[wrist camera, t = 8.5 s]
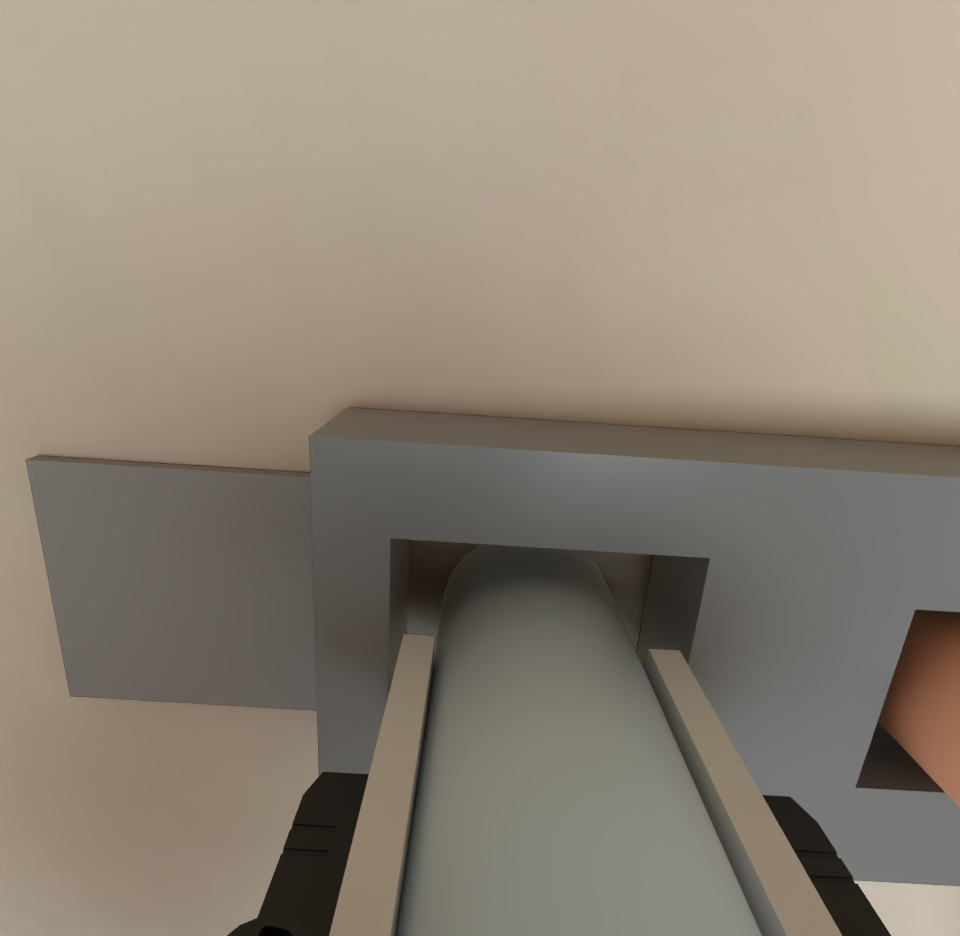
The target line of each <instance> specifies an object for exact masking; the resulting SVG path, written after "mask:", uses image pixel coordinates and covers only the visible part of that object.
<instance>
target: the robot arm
mask: <svg viewBox="0 0 960 936" xmlns="http://www.w3.org/2000/svg"><path fill="white" fill-rule="evenodd" d="M434 648H435V636H428V635H412V634H404V635H403V639H402V643H401V647H400V651H399V655H398V659H397V663H396V667H395V671H394V675H393V679H392V683H391V687H390V691H389V695H388V699H387V703H386V707H385V711H384V716H383V720H382V724H381V728H380V732H379V736H378V740H377V744H376V748H375V752H374V756H373V760H372V764H371V768H370V772H369V774H356V773H338V772H322V774H321V775H320V776H319V777H318V778H317V779H316V781H315V782H314V783H313V784H312V785H311V787H310V788H309V789H308V790H307V791H306V792H305V794H304V795H303V797H302V800H301V802H300V805H299V808H298V810H297V813H296V816H295V818H294V821H293V825H292V829H290V832H289V835H288V837H287V840H286V843H285V845H284V849H283V853H282V854H281V856H280V859H279V861H278V864H277V867H276V870H275V872H274V875H273V878H272V880H271V883H270V886H269V888H268V891H267V894H266V896H265V899H264V902H263V905H262V907H261V910H260V913H259V915H258V918H256V919H254V920H251V921H249V922H246V923H244V924H242V925H240V926H238V927H237V928H236V929H235V930H234V931H232V932H231V933H230V934H229V935H227V936H396V932H397V925H398V918H399V911H400V904H401V897H402V889H403V882H404V875H405V868H406V861H407V854H408V847H409V840H410V833H411V826H412V818H413V811H414V804H415V797H416V790H417V783H418V776H419V769H420V762H421V755H422V747H423V740H424V733H425V726H426V719H427V712H428V705H429V698H430V691H431V684H432V676H433V669H434ZM645 672H646V675H647V677H648V679H649V681H650V684H651V686H652V688H653V690H654V693H655V695H656V697H657V699H658V702H659V704H660V706H661V708H662V711H663V713H664V715H665V717H666V720H667V722H668V724H669V727H670V729H671V731H672V733H673V736H674V738H675V740H676V742H677V745H678V747H679V749H680V751H681V754H682V756H683V758H684V760H685V763H686V765H687V767H688V770H689V772H690V774H691V776H692V779H693V781H694V783H695V785H696V788H697V790H698V792H699V794H700V797H701V799H702V801H703V803H704V806H705V808H706V810H707V812H708V815H709V817H710V819H711V822H712V824H713V826H714V828H715V831H716V833H717V835H718V837H719V840H720V842H721V844H722V846H723V849H724V851H725V853H726V855H727V858H728V860H729V862H730V864H731V867H732V869H733V871H734V874H735V876H736V878H737V880H738V883H739V885H740V887H741V889H742V892H743V894H744V896H745V898H746V901H747V903H748V905H749V907H750V910H751V912H752V914H753V917H754V919H755V921H756V923H757V926H758V928H759V930H760V932H761V935H762V936H891V935H890V933H889V932H888V930H887V929H886V927H885V926H884V924H883V923H882V921H881V919H880V918H879V916H878V915H877V913H876V912H875V910H874V909H873V907H872V906H871V904H870V902H869V901H868V899H867V898H866V896H865V895H864V893H863V892H862V890H861V889H860V887H859V886H858V884H855V883H854V881H853V876H852V875H851V873H850V872H849V870H848V869H847V867H846V865H845V864H844V862H843V861H842V859H841V858H838V856H837V852H836V850H835V848H834V847H833V845H832V844H831V842H830V841H829V839H828V838H827V836H826V835H825V833H824V831H823V830H822V828H821V827H820V825H819V824H818V822H817V821H816V820H815V819H814V818H812V817H811V816H810V815H809V814H808V813H807V812H806V811H805V810H804V809H803V808H802V807H801V806H800V805H799V804H798V803H797V802H796V801H795V800H794V799H792V798H791V797H790V796H772V795H762V794H761V792H760V791H759V789H758V787H757V785H756V784H755V782H754V780H753V778H752V776H751V775H750V773H749V771H748V769H747V768H746V766H745V764H744V762H743V761H742V759H741V757H740V755H739V754H738V752H737V750H736V748H735V747H734V745H733V743H732V741H731V740H730V738H729V736H728V734H727V733H726V731H725V729H724V727H723V726H722V724H721V722H720V720H719V719H718V717H717V715H716V713H715V712H714V710H713V708H712V706H711V705H710V703H709V701H708V699H707V698H706V696H705V694H704V692H703V691H702V689H701V687H700V685H699V684H698V682H697V680H696V678H695V676H694V675H693V673H692V671H691V669H690V668H689V666H688V664H687V662H686V661H685V659H684V657H683V655H682V654H681V652H680V651H679V650H662V649H648V655H647V660H646V666H645Z"/></svg>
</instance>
